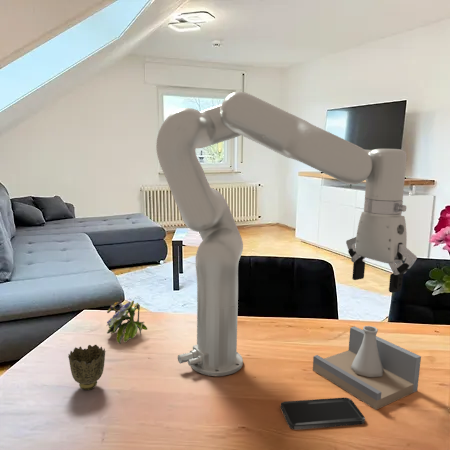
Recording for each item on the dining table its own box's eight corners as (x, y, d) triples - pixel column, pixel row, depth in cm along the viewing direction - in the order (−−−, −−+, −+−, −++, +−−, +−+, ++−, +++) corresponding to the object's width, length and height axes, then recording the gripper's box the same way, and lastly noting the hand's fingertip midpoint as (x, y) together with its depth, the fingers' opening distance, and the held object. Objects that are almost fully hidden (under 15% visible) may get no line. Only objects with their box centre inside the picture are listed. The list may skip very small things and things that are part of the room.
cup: (104, 375, 95) (103, 342, 94) (108, 392, 88) (107, 357, 87) (69, 381, 93) (67, 347, 91) (70, 399, 86) (68, 363, 84)
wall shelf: (376, 409, 85) (379, 372, 83) (312, 370, 99) (314, 338, 98) (417, 390, 92) (421, 356, 90) (352, 356, 107) (354, 326, 105)
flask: (387, 380, 92) (391, 336, 90) (353, 376, 93) (356, 334, 91) (380, 363, 99) (383, 323, 97) (348, 361, 100) (351, 321, 98)
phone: (367, 420, 80) (290, 426, 78) (366, 426, 80) (290, 431, 78) (349, 396, 88) (279, 401, 85) (349, 401, 88) (278, 406, 86)
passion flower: (114, 351, 118) (112, 309, 123) (153, 344, 118) (149, 303, 123) (101, 345, 108) (99, 299, 113) (143, 337, 108) (140, 292, 113)
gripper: (431, 212, 85) (422, 294, 88) (361, 202, 99) (356, 272, 102) (408, 214, 81) (399, 300, 84) (339, 203, 95) (334, 277, 98)
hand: (375, 285), depth 93 cm, fingers open, 9 cm apart
